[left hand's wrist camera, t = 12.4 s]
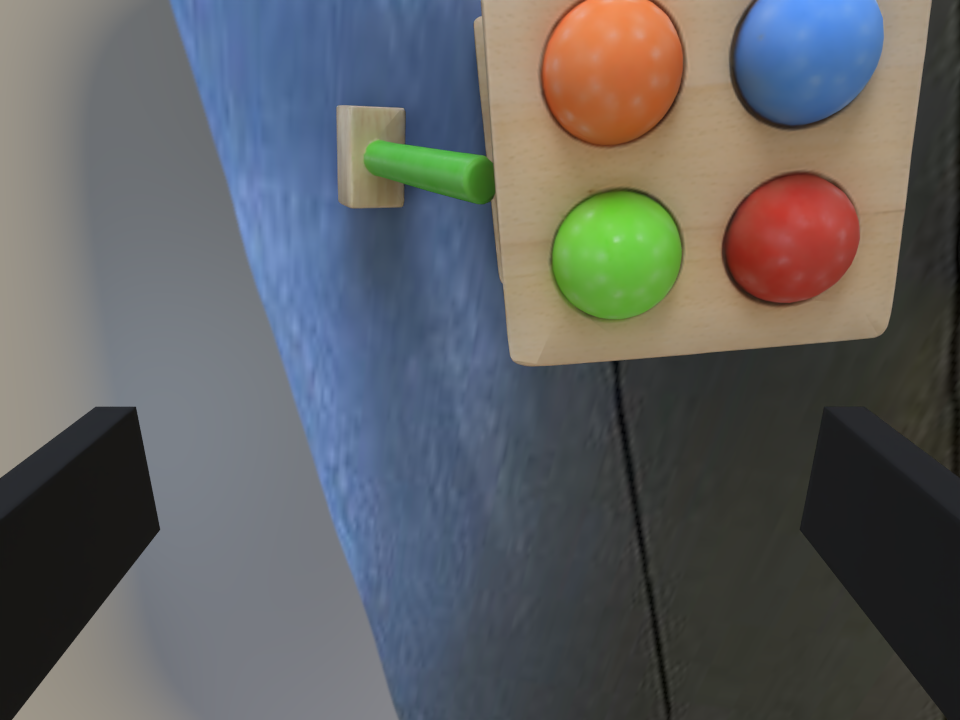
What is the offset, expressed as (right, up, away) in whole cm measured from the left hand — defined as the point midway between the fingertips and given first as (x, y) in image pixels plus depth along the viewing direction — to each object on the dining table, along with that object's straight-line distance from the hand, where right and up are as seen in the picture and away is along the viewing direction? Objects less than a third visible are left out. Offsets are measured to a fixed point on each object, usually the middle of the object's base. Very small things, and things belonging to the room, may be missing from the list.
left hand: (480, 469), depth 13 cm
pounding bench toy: (+3, +14, +25) cm, 29 cm away
